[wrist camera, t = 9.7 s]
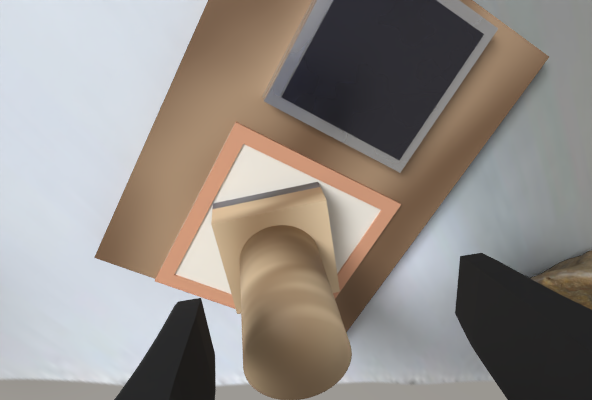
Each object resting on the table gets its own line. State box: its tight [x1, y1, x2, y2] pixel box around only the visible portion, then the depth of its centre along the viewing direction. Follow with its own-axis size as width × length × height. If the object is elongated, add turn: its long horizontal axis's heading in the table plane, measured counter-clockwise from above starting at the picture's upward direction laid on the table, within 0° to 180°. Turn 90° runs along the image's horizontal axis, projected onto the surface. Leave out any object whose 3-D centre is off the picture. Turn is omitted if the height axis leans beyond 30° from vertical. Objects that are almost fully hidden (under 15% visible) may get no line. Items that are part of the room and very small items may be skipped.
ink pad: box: [262, 0, 498, 173], centre depth 18 cm, size 7×7×1 cm
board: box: [94, 0, 549, 332], centre depth 21 cm, size 14×18×1 cm
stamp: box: [211, 182, 352, 400], centre depth 18 cm, size 5×5×8 cm
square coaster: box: [155, 122, 401, 309], centre depth 22 cm, size 9×9×1 cm
